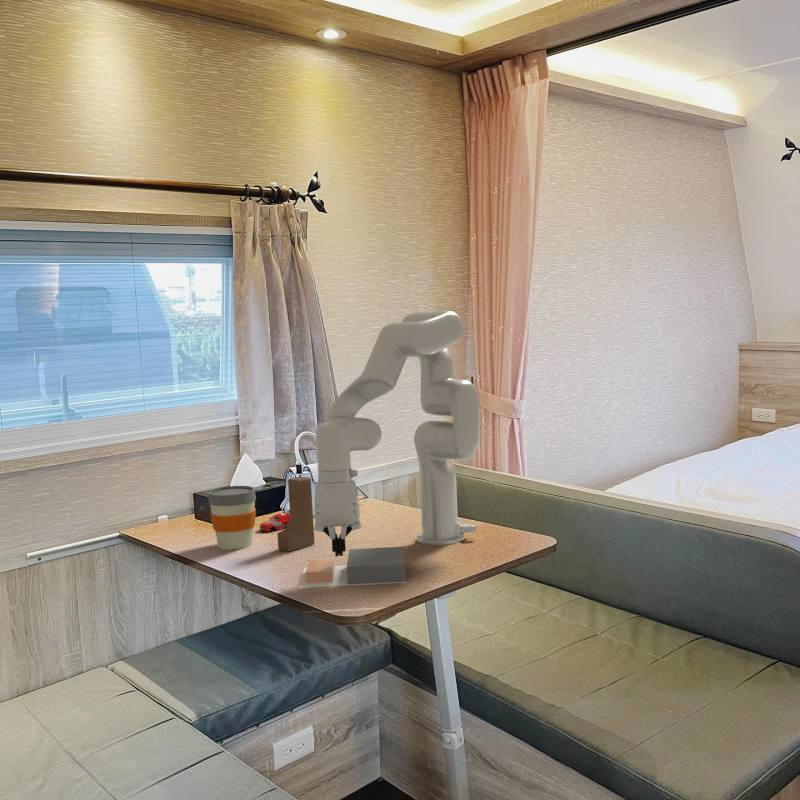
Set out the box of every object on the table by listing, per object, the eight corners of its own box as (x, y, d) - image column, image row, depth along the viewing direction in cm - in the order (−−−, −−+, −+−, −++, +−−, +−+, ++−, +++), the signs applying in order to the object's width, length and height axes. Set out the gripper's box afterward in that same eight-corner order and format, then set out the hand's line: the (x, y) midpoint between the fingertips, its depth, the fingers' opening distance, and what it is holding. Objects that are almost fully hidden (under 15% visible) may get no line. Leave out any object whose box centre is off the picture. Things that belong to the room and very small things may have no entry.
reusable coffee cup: (261, 548, 217) (258, 492, 215) (213, 554, 213) (209, 497, 212) (256, 536, 229) (252, 483, 227) (210, 542, 225) (206, 488, 224)
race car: (266, 534, 231) (265, 521, 231) (256, 531, 235) (255, 518, 235) (304, 525, 240) (303, 511, 240) (293, 522, 244) (292, 509, 244)
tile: (309, 560, 194) (309, 570, 194) (305, 572, 185) (306, 583, 185) (334, 559, 194) (335, 569, 194) (332, 571, 185) (332, 581, 185)
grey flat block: (404, 562, 197) (403, 546, 196) (406, 581, 183) (405, 564, 182) (350, 565, 197) (349, 549, 196) (347, 584, 183) (346, 567, 182)
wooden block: (288, 552, 211) (284, 483, 210) (277, 549, 215) (273, 482, 213) (315, 544, 218) (311, 477, 216) (304, 541, 221) (300, 476, 219)
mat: (404, 563, 197) (404, 562, 197) (406, 584, 182) (406, 582, 182) (304, 568, 197) (304, 567, 197) (298, 589, 182) (298, 587, 182)
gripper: (368, 471, 191) (371, 548, 193) (303, 474, 191) (308, 551, 193) (367, 477, 184) (371, 557, 185) (300, 481, 183) (305, 561, 185)
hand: (339, 554), depth 189 cm, fingers closed
